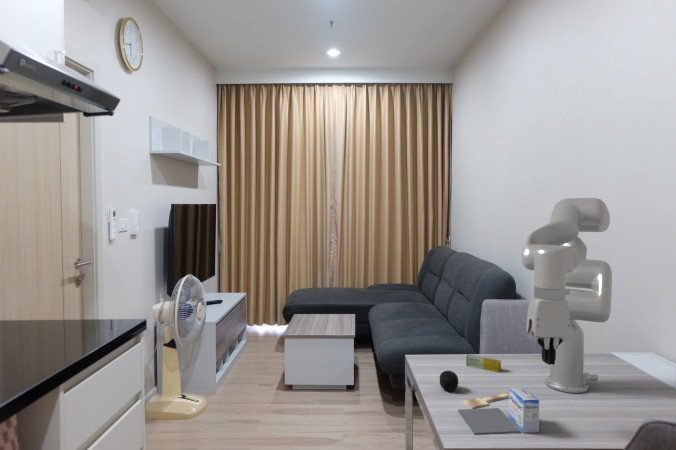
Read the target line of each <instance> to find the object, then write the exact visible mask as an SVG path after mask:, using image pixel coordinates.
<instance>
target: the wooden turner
mask: <svg viewBox="0 0 676 450" xmlns="http://www.w3.org/2000/svg"><path fill="white" fill-rule="evenodd" d="M505 399H509V393H508V392H504V393H500V394H495V395H492V396H488V397H483V398H480V397H475V398H471V399H467V400H466V399H465V400H462V404H464V405H465V406H466V407H469V409H480V408H482V407H487V406H489V405H490V403H492V402H493V403H494V402H495V401H496V402H497V401H500V400H505Z"/></svg>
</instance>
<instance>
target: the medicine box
mask: <svg viewBox="0 0 676 450" xmlns="http://www.w3.org/2000/svg"><path fill="white" fill-rule="evenodd" d="M508 392H509V398H508V402H509V403H508V419H509V420H510V421H511V422H512V423H513V424H514V425H515V426H516V427H517V428H518V429H519V430H520V432H522V433H524V434H525V433H527V434H528V433H530V434H531V433H539V432H540V400H539V399H538V398H537V397H536V396H534V395H533V394H532V393H531V392H529V391H528V390H527V389H526V388H525V387H511V388H509V391H508Z"/></svg>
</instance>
